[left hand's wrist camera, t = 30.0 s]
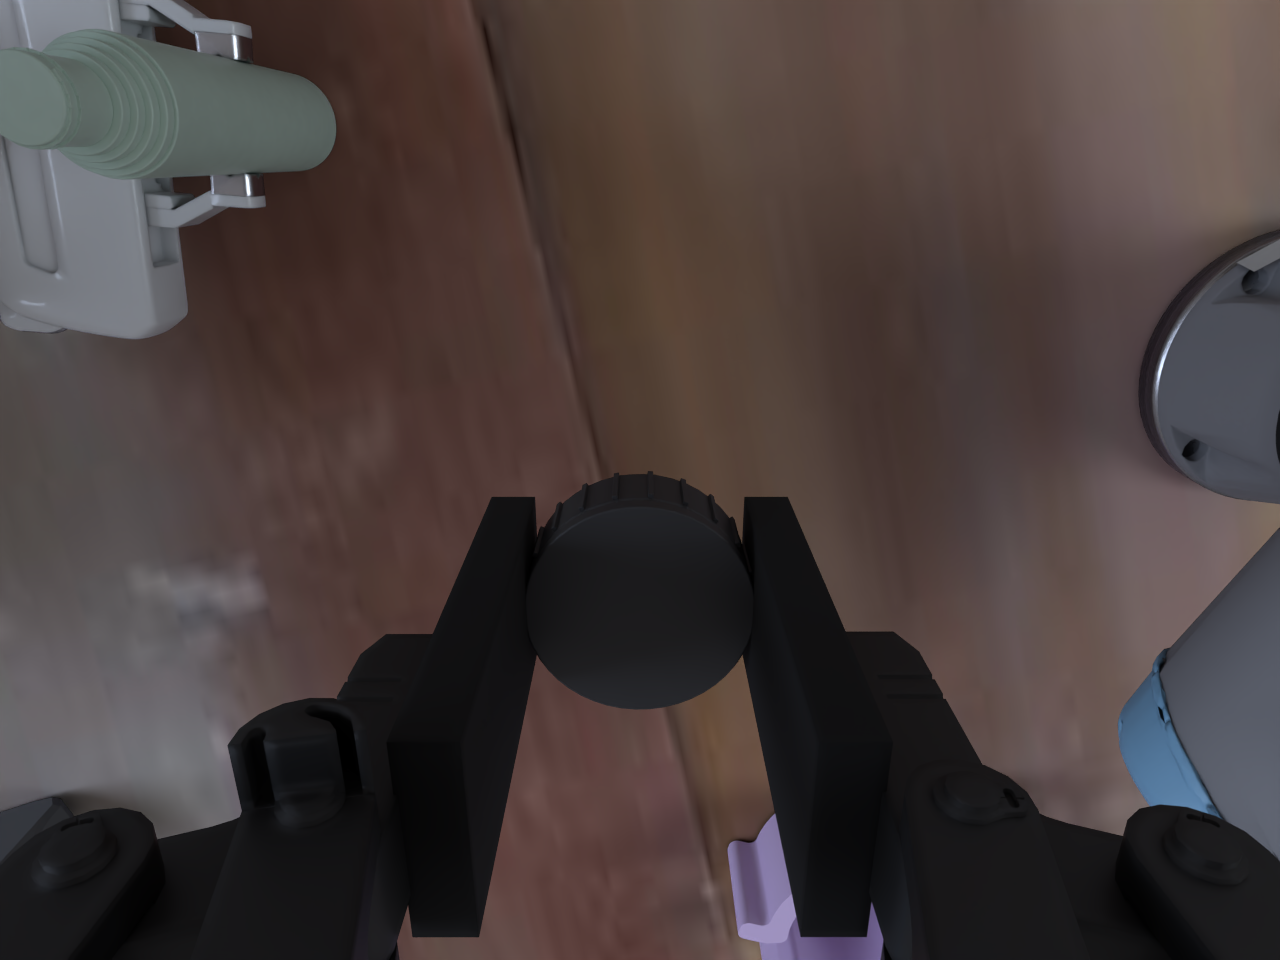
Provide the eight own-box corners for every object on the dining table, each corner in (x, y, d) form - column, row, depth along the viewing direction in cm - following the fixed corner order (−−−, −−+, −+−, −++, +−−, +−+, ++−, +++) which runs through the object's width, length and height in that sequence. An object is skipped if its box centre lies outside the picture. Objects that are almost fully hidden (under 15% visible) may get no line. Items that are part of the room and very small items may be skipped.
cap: (775, 626, 15) (789, 673, 14) (579, 688, 16) (573, 739, 14) (708, 438, 14) (715, 470, 13) (496, 512, 14) (481, 551, 13)
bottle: (281, 187, 44) (14, 212, 25) (226, 101, 43) (-101, 60, 24) (354, 143, 43) (135, 135, 24) (301, 54, 42) (24, -28, 23)
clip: (992, 740, 57) (1037, 815, 50) (1027, 870, 61) (1073, 954, 55) (714, 821, 59) (723, 902, 53) (767, 940, 64) (781, 1029, 57)
